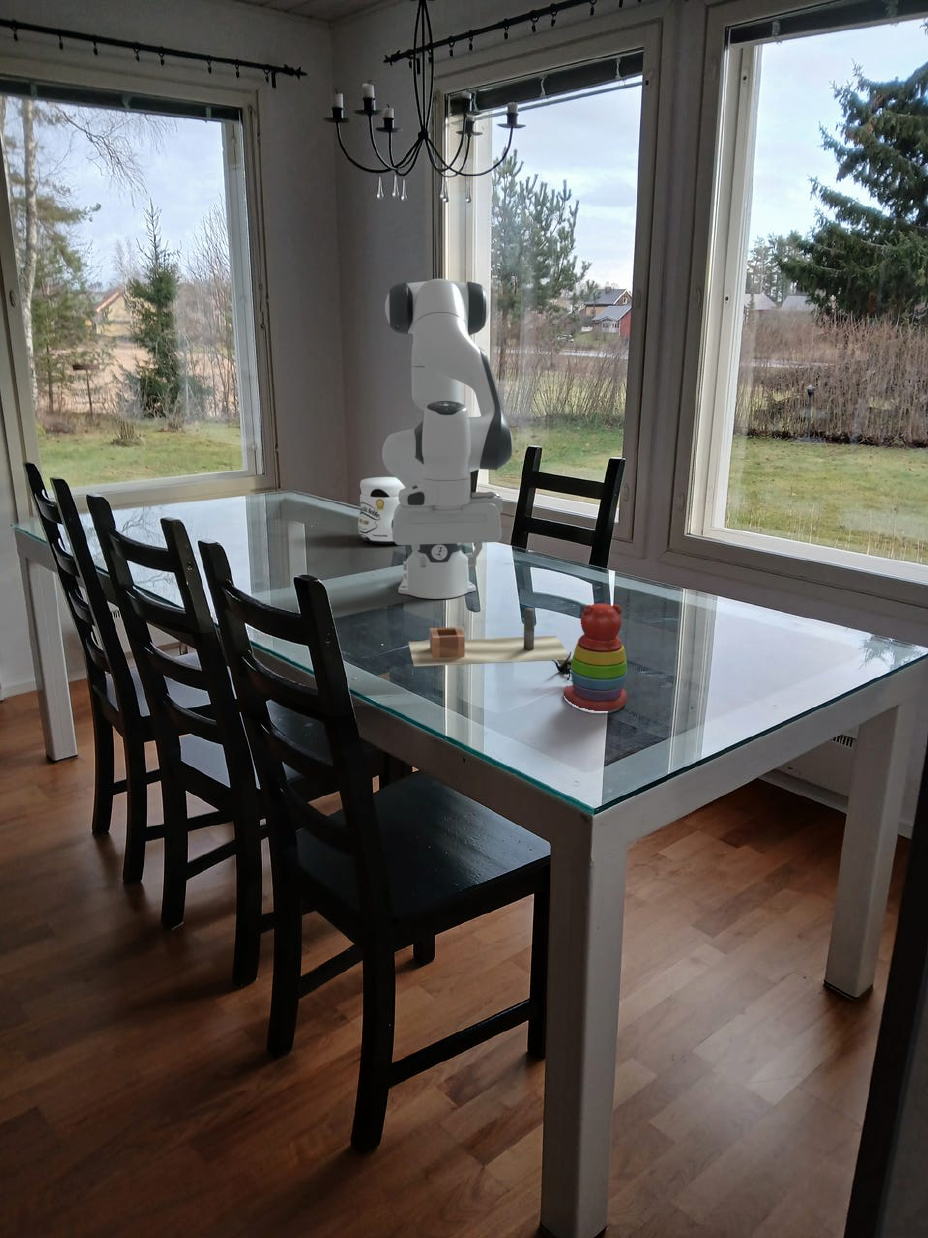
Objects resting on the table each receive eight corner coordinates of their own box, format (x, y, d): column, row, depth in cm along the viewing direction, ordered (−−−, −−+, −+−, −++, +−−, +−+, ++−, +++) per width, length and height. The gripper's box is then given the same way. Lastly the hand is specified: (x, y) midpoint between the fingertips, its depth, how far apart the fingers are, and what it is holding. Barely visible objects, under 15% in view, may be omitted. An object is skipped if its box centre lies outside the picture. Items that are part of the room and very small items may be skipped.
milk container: (349, 545, 275) (347, 484, 270) (371, 533, 291) (370, 475, 286) (404, 549, 270) (403, 487, 265) (424, 536, 286) (424, 477, 281)
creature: (603, 688, 171) (568, 669, 176) (610, 662, 169) (574, 644, 173) (579, 700, 166) (543, 681, 170) (586, 674, 163) (549, 655, 167)
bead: (430, 647, 184) (430, 628, 183) (460, 646, 185) (460, 627, 184) (433, 658, 178) (433, 638, 177) (464, 656, 179) (464, 636, 178)
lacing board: (408, 649, 188) (407, 603, 185) (555, 642, 192) (557, 598, 189) (413, 673, 175) (413, 625, 172) (571, 666, 178) (573, 618, 175)
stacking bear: (622, 691, 166) (627, 595, 161) (634, 714, 157) (640, 612, 151) (561, 692, 166) (564, 595, 161) (569, 715, 156) (573, 613, 151)
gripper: (499, 488, 177) (498, 560, 181) (390, 491, 174) (392, 563, 178) (505, 494, 171) (504, 568, 175) (392, 497, 168) (394, 572, 172)
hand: (446, 566), depth 176 cm, fingers open, 8 cm apart
